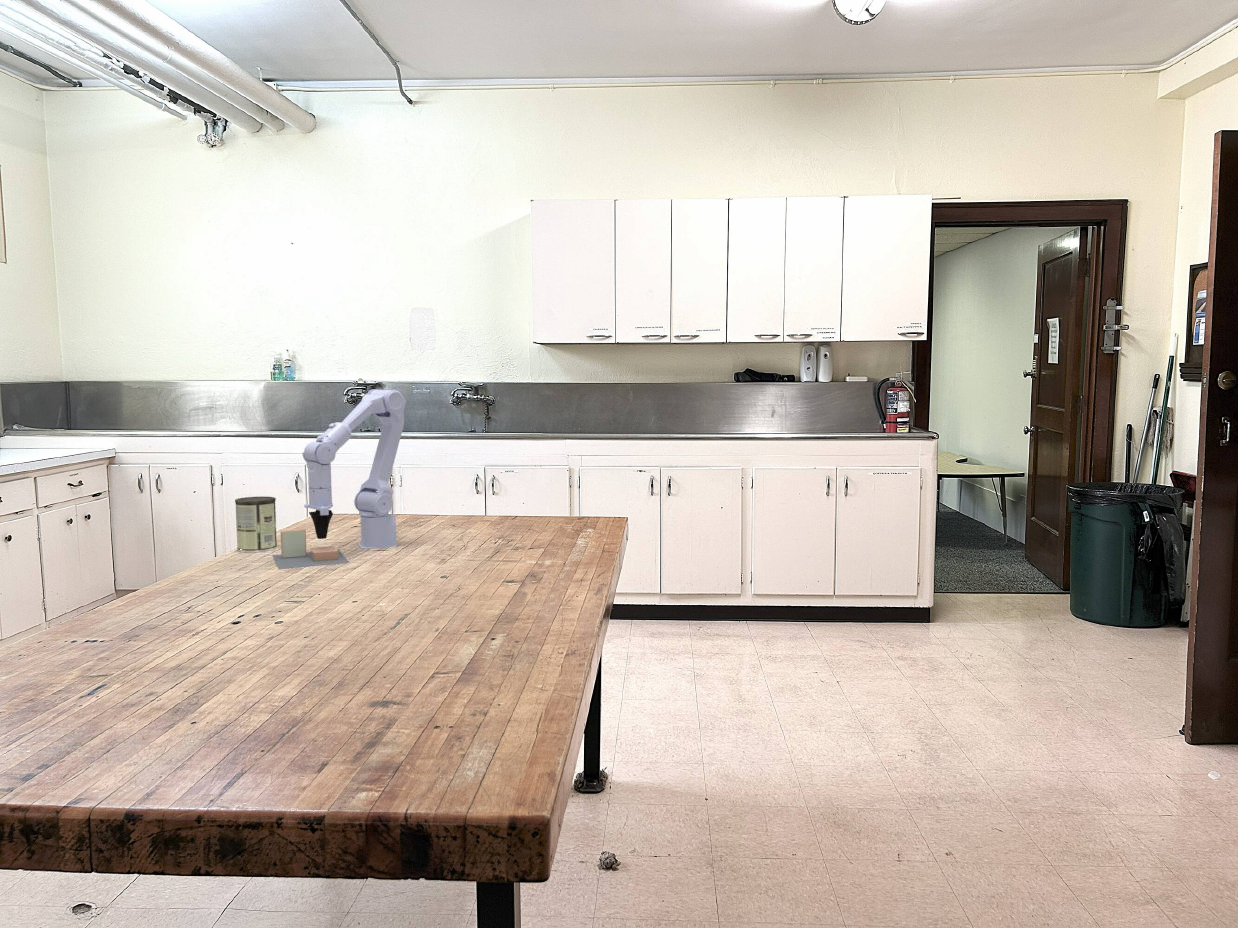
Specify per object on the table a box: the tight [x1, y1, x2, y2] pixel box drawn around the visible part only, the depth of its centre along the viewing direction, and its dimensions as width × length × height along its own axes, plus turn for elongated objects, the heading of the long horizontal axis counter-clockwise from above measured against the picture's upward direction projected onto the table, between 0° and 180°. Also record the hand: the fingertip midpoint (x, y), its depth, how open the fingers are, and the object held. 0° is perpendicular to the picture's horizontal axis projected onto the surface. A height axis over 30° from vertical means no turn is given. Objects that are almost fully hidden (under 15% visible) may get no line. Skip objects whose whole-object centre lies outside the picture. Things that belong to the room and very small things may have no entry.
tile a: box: [309, 545, 339, 561], centre depth 231 cm, size 2×6×7 cm
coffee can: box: [234, 496, 278, 554], centre depth 242 cm, size 10×10×14 cm
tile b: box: [280, 528, 307, 559], centre depth 231 cm, size 2×6×7 cm, turn 116°
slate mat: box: [271, 549, 351, 570], centre depth 229 cm, size 17×18×1 cm
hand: (321, 538), depth 233 cm, fingers closed
